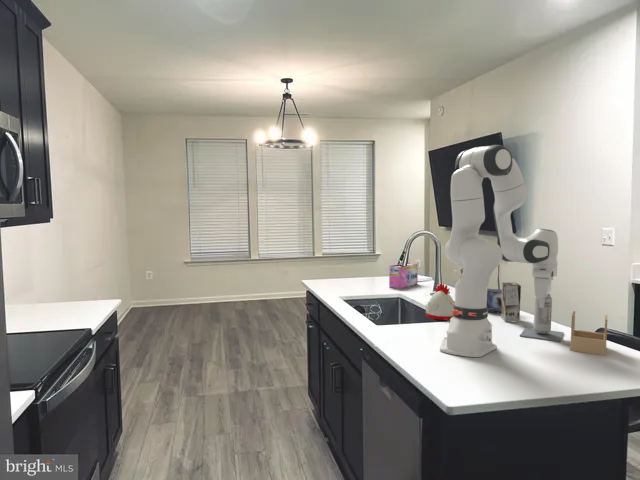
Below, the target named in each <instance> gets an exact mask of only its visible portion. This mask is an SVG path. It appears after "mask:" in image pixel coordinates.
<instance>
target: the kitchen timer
mask: <svg viewBox="0 0 640 480" xmlns="http://www.w3.org/2000/svg"><path fill="white" fill-rule="evenodd" d="M436 286H437V287H434V290H435V291H434V292H435V293H433V294H432V295H431V297H430V298H429V300H428V302H427V306H426V309H425V316H426V317H427V318H429V319H432V320H433V319H434V320H440V321H450V319H451V318H452V317H453V315H452V311H453V307H454V304H455V299H453V297H452V296H451V295H450V294H449V292H450V290H451V289H450V288H448V285H447V284H446V285H445V284H444V283H439V285H436Z"/></svg>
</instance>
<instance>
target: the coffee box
mask: <svg viewBox="0 0 640 480" xmlns="http://www.w3.org/2000/svg"><path fill="white" fill-rule="evenodd" d="M521 288H522V285H520V284H519V283H517V282H502V283H501V290H502V306H501V313H500V315H501V318H502V320H503V321H504V322H507V323H508V322H510V323H520V317H521V315H520V313H521V297H522V296H521V294H522V289H521Z"/></svg>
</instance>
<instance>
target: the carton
mask: <svg viewBox="0 0 640 480" xmlns="http://www.w3.org/2000/svg"><path fill="white" fill-rule="evenodd" d="M604 317H605V318H604V319H605V320H604V333H603V332H597V331H596V332H594V331H587V330H578V329H575V328H576V327H575V325H576V324H575V323H576V322H575V321H576V311H575V310H574V311H573V312H572V315H571V325H570V328H571V329H570V330H571V331H570V344H569V345H570V346H569V350H570V351H573V352H579V353H586V354H593V355H600V356H606V355H607V337H608V314H605V315H604Z"/></svg>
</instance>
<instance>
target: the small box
mask: <svg viewBox="0 0 640 480" xmlns="http://www.w3.org/2000/svg"><path fill="white" fill-rule="evenodd" d="M501 306H502V289H497V288H488V289H487V307H488V313H493V314H501Z"/></svg>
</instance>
